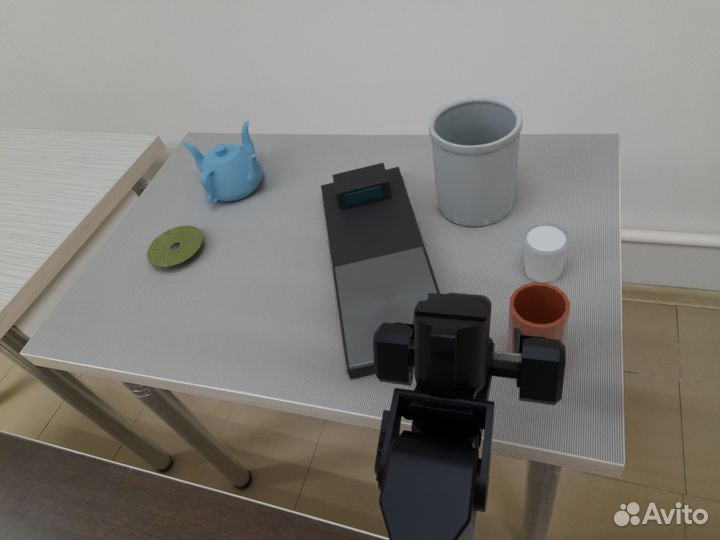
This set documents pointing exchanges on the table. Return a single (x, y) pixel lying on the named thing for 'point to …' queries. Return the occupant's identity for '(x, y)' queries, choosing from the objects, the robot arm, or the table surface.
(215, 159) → the teapot
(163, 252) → the mat
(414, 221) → the scale
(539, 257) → the shot glass
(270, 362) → the table surface
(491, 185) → the utensil holder
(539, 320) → the cup
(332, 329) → the table surface
